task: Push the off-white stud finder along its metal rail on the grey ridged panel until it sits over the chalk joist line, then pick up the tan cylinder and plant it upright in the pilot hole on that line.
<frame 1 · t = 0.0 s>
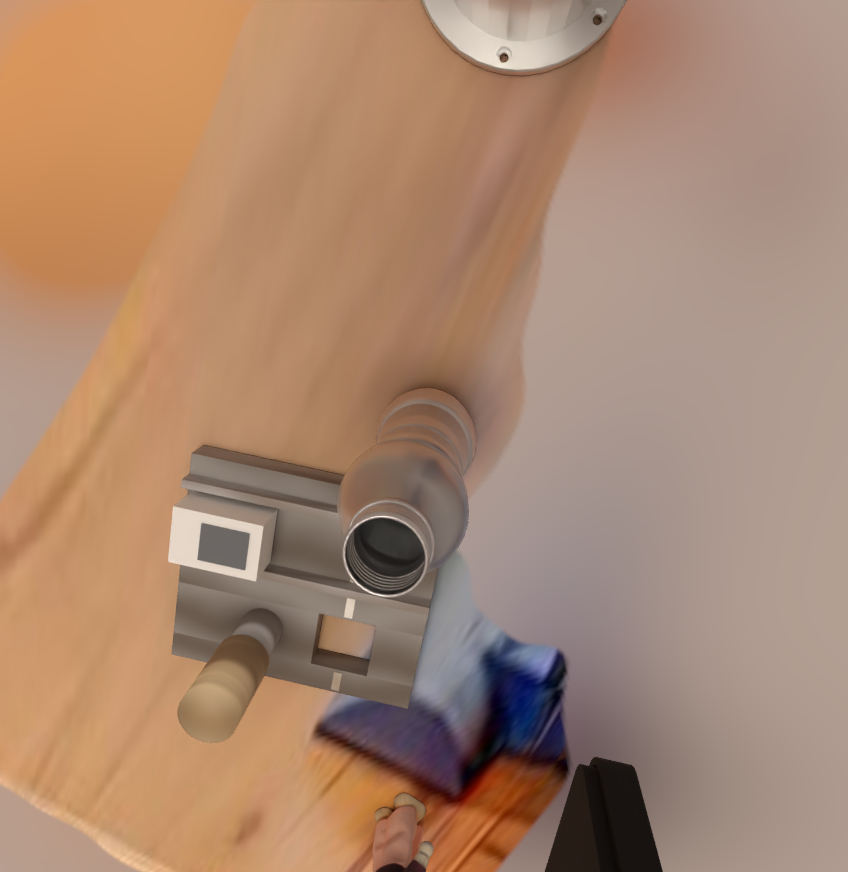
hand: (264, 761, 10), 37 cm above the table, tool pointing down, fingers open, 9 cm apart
tan cylinder: (262, 626, 50), point 2 cm above the table, touching grey ridged panel
grey ridged panel: (310, 572, 51), on the table
plastic bottle: (430, 429, 47), on the table
grandmother figurine: (404, 808, 56), on the table
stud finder: (223, 535, 46), point 4 cm above the table, slide at 0.0 cm
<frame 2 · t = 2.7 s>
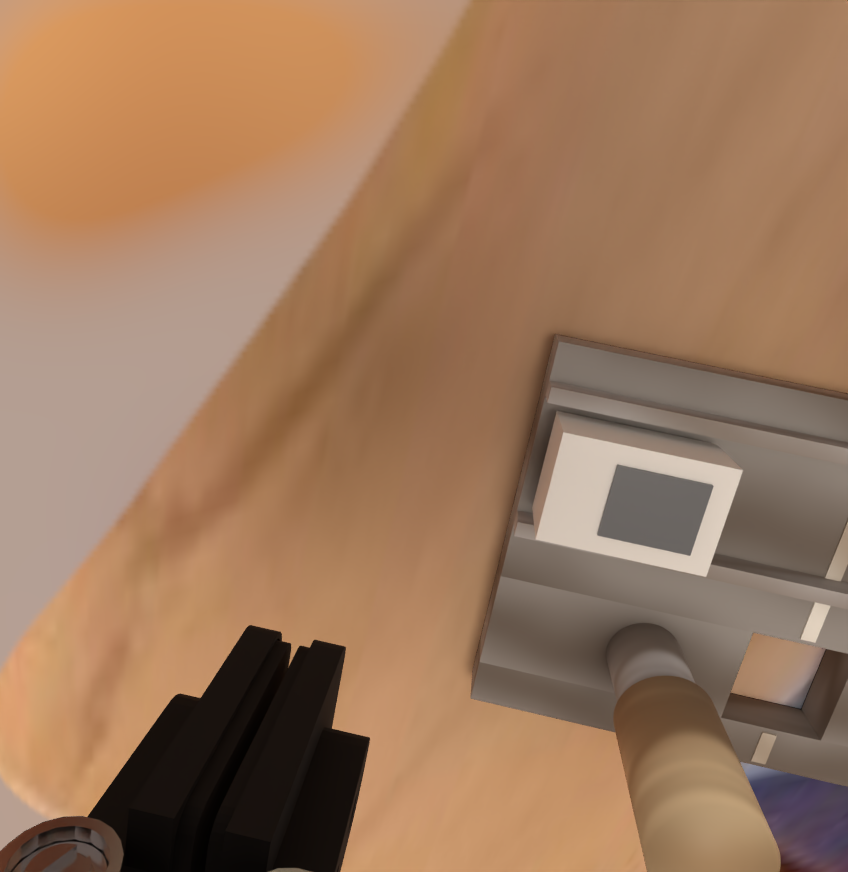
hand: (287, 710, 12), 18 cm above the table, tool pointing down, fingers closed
tan cylinder: (643, 654, 29), point 2 cm above the table, touching grey ridged panel
grey ridged panel: (718, 561, 29), on the table
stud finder: (628, 491, 25), point 4 cm above the table, slide at 0.0 cm
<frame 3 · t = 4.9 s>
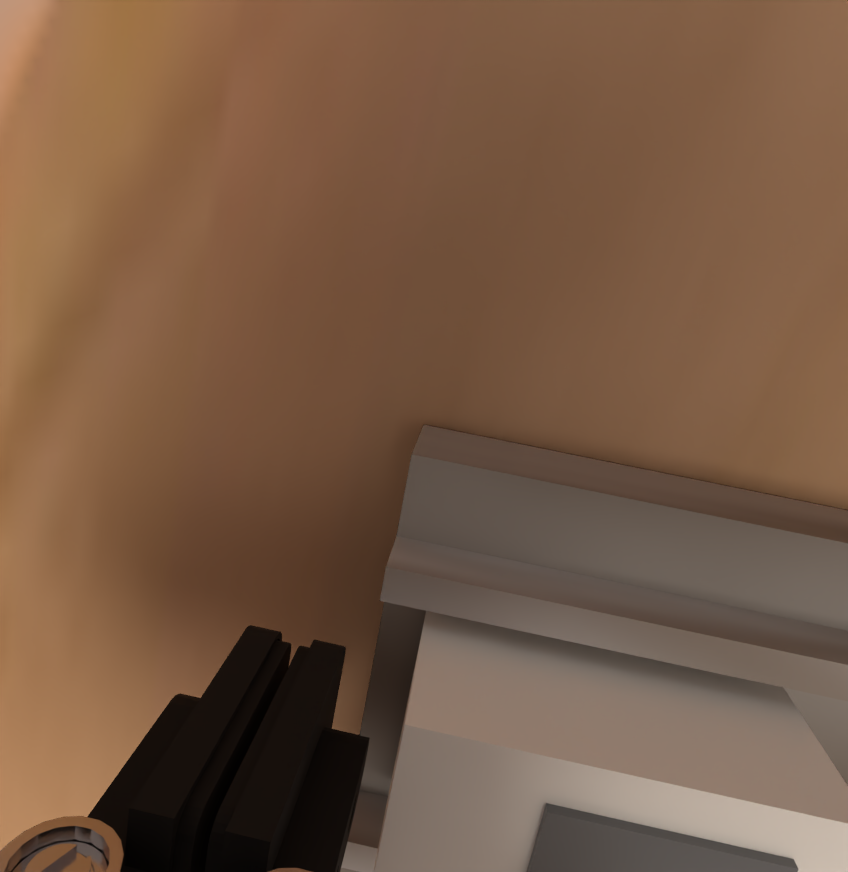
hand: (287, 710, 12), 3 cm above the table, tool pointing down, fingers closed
grey ridged panel: (759, 851, 15), on the table
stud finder: (584, 813, 11), point 4 cm above the table, slide at 0.3 cm, touching gripper
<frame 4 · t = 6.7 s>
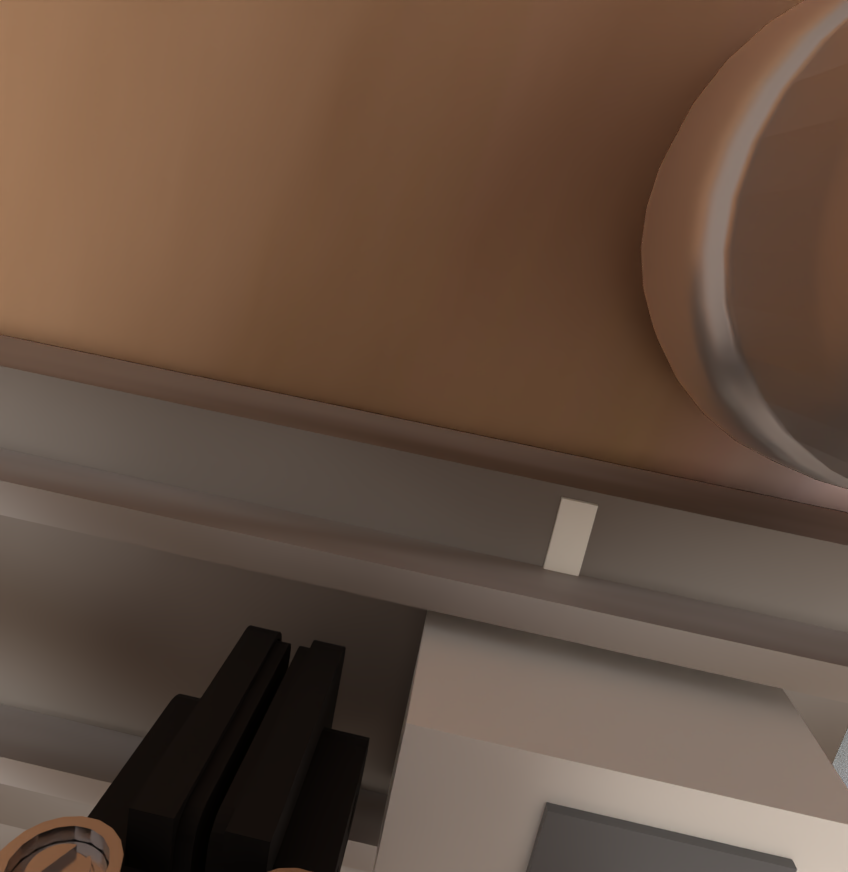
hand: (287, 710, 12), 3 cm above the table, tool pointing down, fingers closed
grey ridged panel: (331, 752, 16), on the table
plastic bottle: (800, 246, 12), on the table
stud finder: (583, 812, 11), point 4 cm above the table, slide at 9.9 cm, touching gripper
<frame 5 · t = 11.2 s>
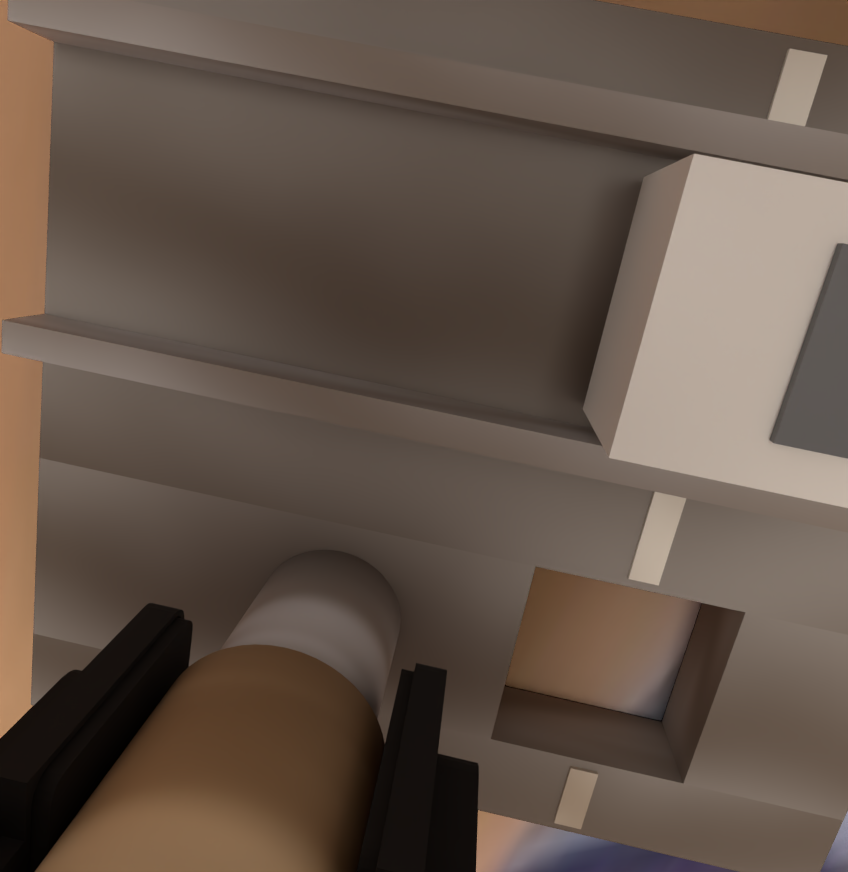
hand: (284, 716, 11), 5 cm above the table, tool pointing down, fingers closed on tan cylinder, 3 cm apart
tan cylinder: (330, 615, 15), point 2 cm above the table, touching gripper, grey ridged panel
grey ridged panel: (488, 435, 15), on the table
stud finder: (828, 346, 10), point 4 cm above the table, slide at 9.9 cm
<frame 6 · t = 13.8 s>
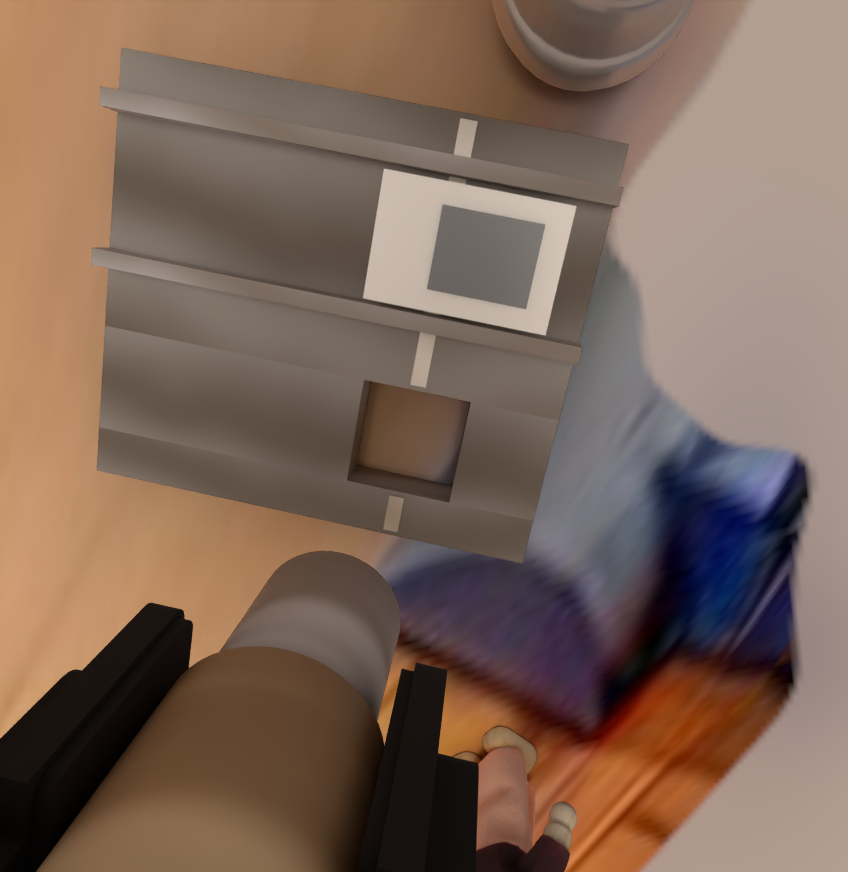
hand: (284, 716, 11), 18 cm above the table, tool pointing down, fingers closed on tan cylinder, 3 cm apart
tan cylinder: (329, 616, 15), point 15 cm above the table, touching gripper
grey ridged panel: (346, 318, 28), on the table
plastic bottle: (582, 4, 24), on the table
grandmother figurine: (499, 754, 33), on the table
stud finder: (468, 253, 23), point 4 cm above the table, slide at 9.9 cm
when the fingers open (4 cm above the table, at t = 16.5 s): tan cylinder stays where it is, resting in grey ridged panel.
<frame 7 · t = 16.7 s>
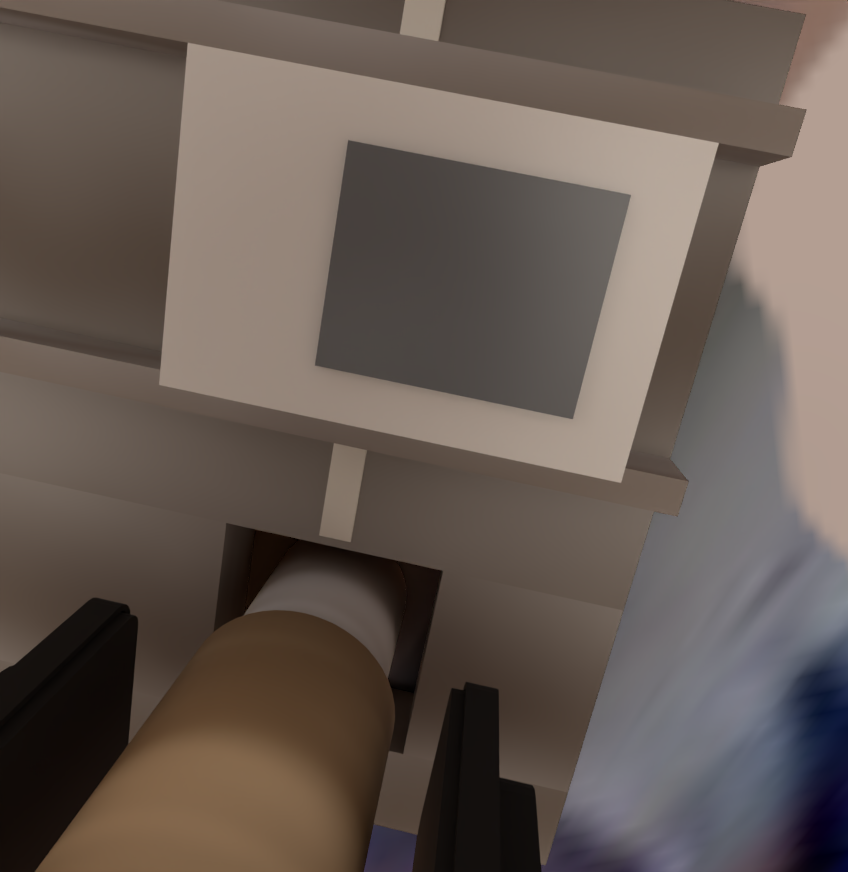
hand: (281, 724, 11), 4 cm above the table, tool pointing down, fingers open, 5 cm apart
tan cylinder: (340, 591, 15), resting in grey ridged panel
grey ridged panel: (207, 390, 15), on the table
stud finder: (426, 270, 10), point 4 cm above the table, slide at 9.9 cm
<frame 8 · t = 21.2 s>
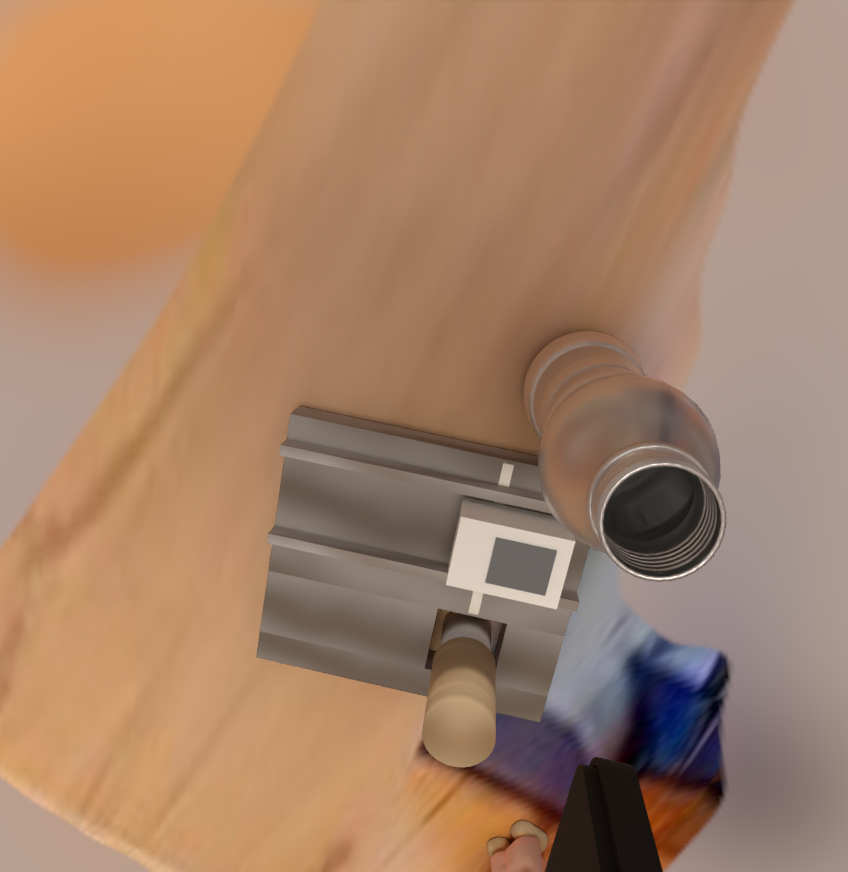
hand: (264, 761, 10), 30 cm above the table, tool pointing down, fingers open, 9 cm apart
tan cylinder: (466, 628, 43), resting in grey ridged panel
grey ridged panel: (424, 560, 42), on the table
plastic bottle: (578, 385, 39), on the table
grandmother figurine: (522, 838, 47), on the table
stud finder: (508, 552, 37), point 4 cm above the table, slide at 9.9 cm
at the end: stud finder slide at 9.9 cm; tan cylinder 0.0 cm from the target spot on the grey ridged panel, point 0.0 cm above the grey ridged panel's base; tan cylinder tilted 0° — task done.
